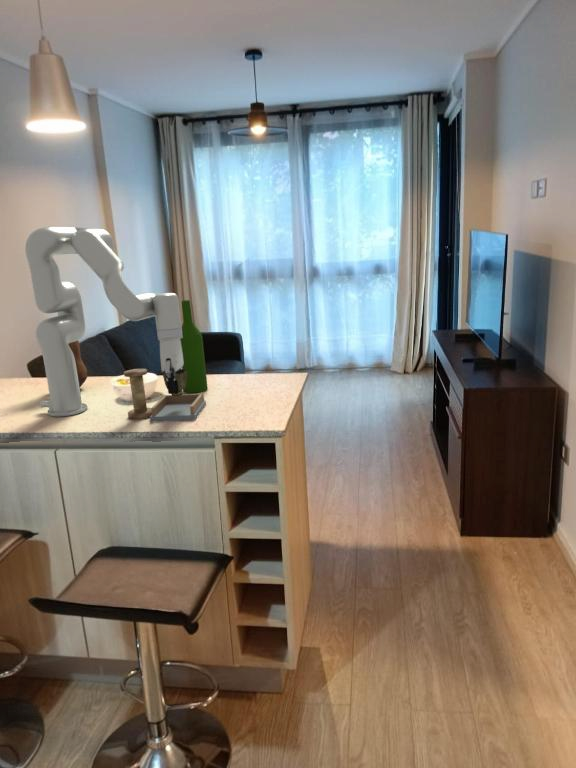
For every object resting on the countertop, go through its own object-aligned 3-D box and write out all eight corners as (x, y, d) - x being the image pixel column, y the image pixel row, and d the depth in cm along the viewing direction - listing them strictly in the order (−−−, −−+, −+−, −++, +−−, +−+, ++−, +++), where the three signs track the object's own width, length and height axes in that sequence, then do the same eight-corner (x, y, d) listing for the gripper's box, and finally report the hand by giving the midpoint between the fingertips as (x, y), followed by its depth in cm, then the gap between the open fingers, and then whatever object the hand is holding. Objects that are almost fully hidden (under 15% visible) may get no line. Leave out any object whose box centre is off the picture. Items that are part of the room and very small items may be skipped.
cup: (190, 396, 183) (187, 371, 181) (166, 399, 182) (162, 374, 180) (188, 390, 190) (185, 366, 188) (165, 393, 189) (161, 369, 187)
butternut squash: (62, 387, 236) (51, 324, 230) (94, 385, 235) (85, 322, 229) (46, 396, 222) (34, 330, 216) (80, 394, 221) (70, 328, 215)
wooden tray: (150, 421, 180) (148, 409, 180) (164, 407, 196) (163, 395, 195) (195, 419, 179) (194, 407, 178) (206, 405, 195) (204, 393, 194)
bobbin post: (124, 420, 184) (118, 374, 181) (133, 412, 192) (127, 369, 188) (149, 419, 183) (144, 373, 180) (157, 411, 191) (151, 367, 188)
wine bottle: (202, 386, 221) (192, 298, 213) (211, 390, 213) (202, 299, 205) (179, 390, 216) (169, 301, 209) (188, 395, 209) (178, 302, 201)
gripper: (165, 330, 190) (172, 384, 195) (149, 339, 173) (157, 398, 178) (188, 328, 190) (194, 383, 194) (174, 338, 173) (181, 397, 177)
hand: (176, 389), depth 186 cm, fingers closed on cup, 6 cm apart
